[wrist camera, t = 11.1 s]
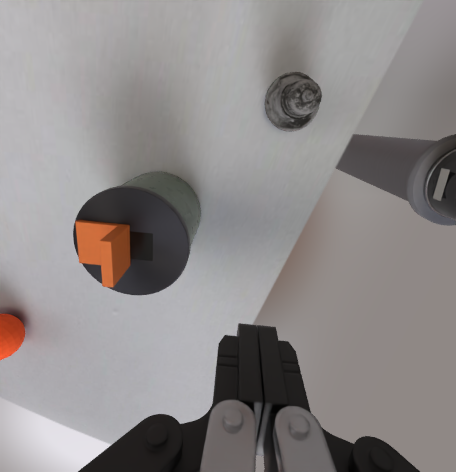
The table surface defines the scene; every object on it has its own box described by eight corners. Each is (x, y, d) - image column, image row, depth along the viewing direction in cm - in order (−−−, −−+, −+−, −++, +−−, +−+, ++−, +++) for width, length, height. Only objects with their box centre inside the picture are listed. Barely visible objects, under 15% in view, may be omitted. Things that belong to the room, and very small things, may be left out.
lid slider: (129, 224, 28) (111, 241, 24) (130, 265, 30) (113, 287, 26) (78, 219, 28) (51, 235, 24) (82, 260, 30) (57, 282, 26)
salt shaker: (278, 67, 34) (297, 38, 23) (321, 92, 35) (361, 76, 23) (254, 116, 36) (260, 113, 25) (295, 139, 37) (320, 145, 25)
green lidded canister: (205, 174, 38) (191, 194, 27) (200, 254, 43) (186, 300, 31) (117, 165, 38) (67, 181, 27) (120, 246, 43) (78, 289, 31)
